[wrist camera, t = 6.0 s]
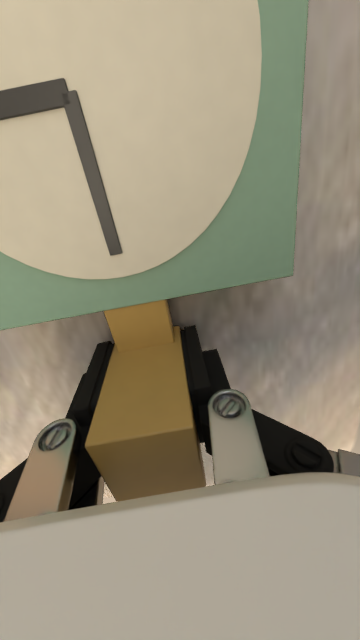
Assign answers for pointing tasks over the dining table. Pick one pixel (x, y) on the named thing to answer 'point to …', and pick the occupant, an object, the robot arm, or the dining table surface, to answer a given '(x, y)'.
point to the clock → (145, 191)
